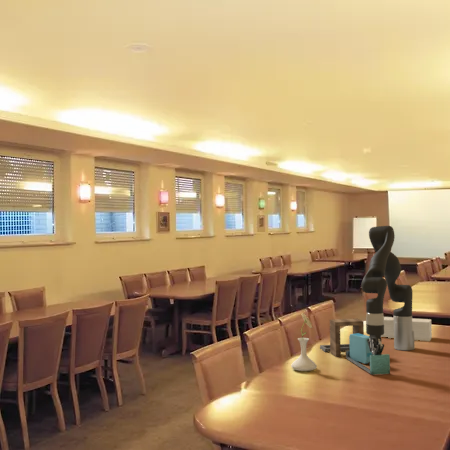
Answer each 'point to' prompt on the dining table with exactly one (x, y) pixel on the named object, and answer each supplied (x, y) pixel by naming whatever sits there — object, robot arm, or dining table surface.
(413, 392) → the dining table surface
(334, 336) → the wooden arch
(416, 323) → the white long block
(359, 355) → the data package
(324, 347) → the tray
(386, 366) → the frame
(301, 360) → the flower in vase
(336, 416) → the dining table surface
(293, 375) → the dining table surface
